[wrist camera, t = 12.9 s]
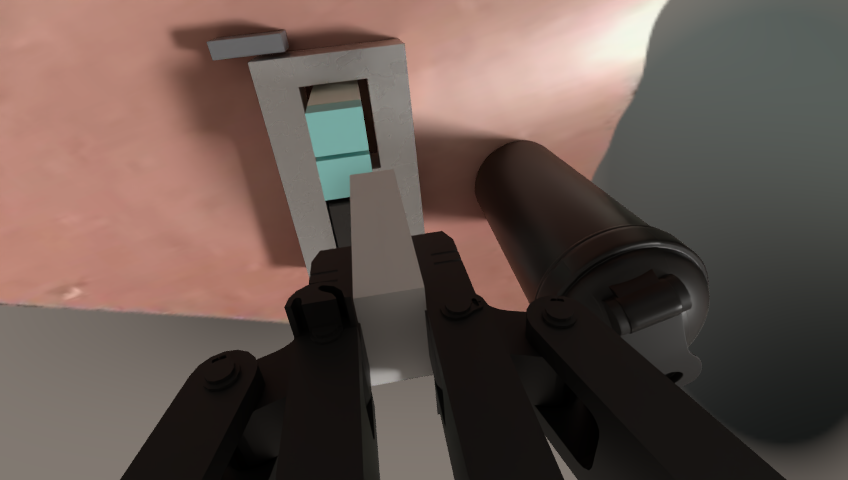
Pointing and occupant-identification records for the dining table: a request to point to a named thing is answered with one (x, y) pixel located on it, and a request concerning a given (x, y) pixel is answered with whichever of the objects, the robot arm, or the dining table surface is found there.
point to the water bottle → (595, 254)
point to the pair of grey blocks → (248, 45)
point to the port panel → (291, 143)
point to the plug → (338, 136)
